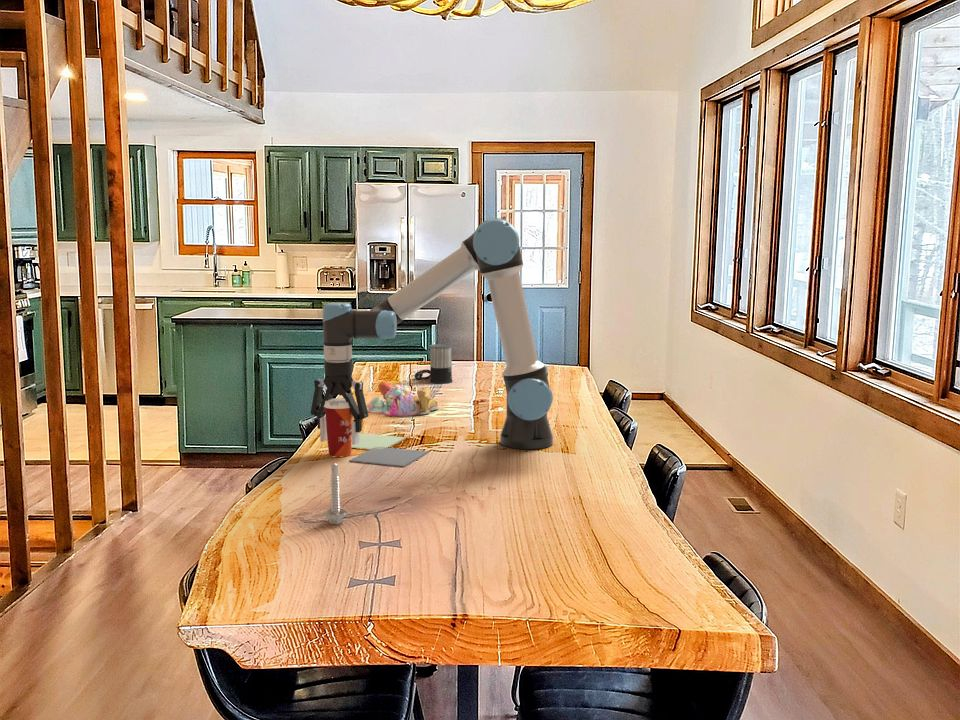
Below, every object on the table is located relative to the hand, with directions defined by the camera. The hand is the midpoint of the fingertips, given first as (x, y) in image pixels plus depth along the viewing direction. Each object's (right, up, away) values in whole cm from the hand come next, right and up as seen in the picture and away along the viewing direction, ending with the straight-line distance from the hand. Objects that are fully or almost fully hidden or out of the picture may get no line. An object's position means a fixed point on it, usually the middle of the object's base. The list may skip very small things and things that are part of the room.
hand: (339, 442), depth 246 cm
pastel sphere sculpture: (+12, +5, +61) cm, 62 cm away
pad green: (+6, -1, +14) cm, 15 cm away
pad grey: (+14, -4, -2) cm, 15 cm away
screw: (+8, -12, -56) cm, 58 cm away
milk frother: (+19, +14, +118) cm, 120 cm away
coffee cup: (0, -4, +1) cm, 4 cm away
